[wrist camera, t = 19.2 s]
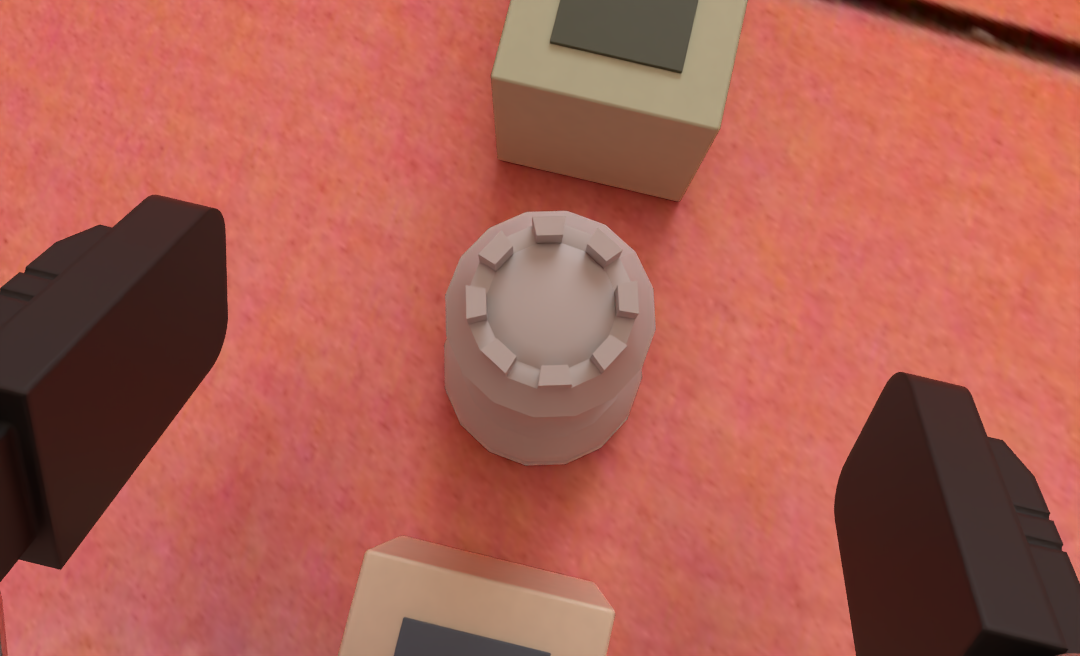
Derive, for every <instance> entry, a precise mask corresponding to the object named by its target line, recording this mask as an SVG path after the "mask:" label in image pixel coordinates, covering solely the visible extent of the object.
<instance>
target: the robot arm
mask: <svg viewBox="0 0 1080 656" xmlns="http://www.w3.org/2000/svg"><path fill="white" fill-rule="evenodd" d="M227 321H228V305H227V270H226V234H225V223H224V218H223V216H222V214H221V212H220V211H219V210H218V209H215V208H211V207H207V206H202V205H198V204H194V203H190V202H185V201H181V200H177V199H173V198H168V197H164V196H160V195H151V196H149V197H147V198H146V199H144V200H143V201H142V202H141V203H140V204H139V205H138V206H136V207H135V208H134V209H133V210H132V211H131V212H130V213H129V214H127V215H126V216H125V217H124V218H123V219H122V220H121V221H119V222H118V223H117V224H116V225H115V226H114V227H113V228H111V227H107V226H103V225H97V226H95V227H93V228H90V229H88V230H85V231H83V232H80V233H78V234H75V235H73V236H70V237H68V238H65V239H63V240H60V241H58V242H56V243H54V244H53V245H52V246H51V247H50V248H48V249H47V250H46V251H45V252H44V253H42V254H41V255H40V256H39V257H38V258H36V259H35V260H34V261H33V262H31V263H30V264H29V265H28V266H27V267H26V270H25V272H24V273H20V272H19V273H18V274H17V275H16V276H14V277H13V278H12V279H11V280H10V281H8V282H7V283H6V284H5V285H4V286H2V287H1V288H0V582H1V581H2V579H3V578H4V577H5V576H6V574H7V573H8V572H9V571H10V569H11V568H12V567H13V566H14V564H15V563H16V562H17V561H18V559H19V560H23V561H28V562H32V563H36V564H40V565H44V566H48V567H52V568H56V569H60V570H61V569H62V567H63V566H64V565H65V563H66V562H67V561H68V559H69V558H70V557H71V555H72V554H73V553H74V551H75V550H76V549H77V547H78V546H79V545H80V543H81V542H82V541H83V539H84V538H85V537H86V535H87V534H88V533H89V531H90V530H91V529H92V527H93V526H94V525H95V523H96V522H97V521H98V519H99V518H100V517H101V515H102V514H103V513H104V511H105V510H106V509H107V507H108V506H109V505H110V503H111V502H112V501H113V499H114V498H115V497H116V495H117V494H118V493H119V491H120V490H121V489H122V487H123V486H124V485H125V483H126V482H127V481H128V479H129V478H130V477H131V475H132V474H133V473H134V471H135V470H136V468H137V467H138V466H139V464H140V463H141V462H142V460H143V459H144V458H145V456H146V455H147V454H148V452H149V451H150V450H151V448H152V447H153V446H154V444H155V443H156V442H157V440H158V439H159V438H160V436H161V435H162V434H163V432H164V431H165V430H166V428H167V427H168V426H169V424H170V423H171V422H172V420H173V419H174V418H175V416H176V415H177V414H178V412H179V411H180V410H181V408H182V407H183V406H184V404H185V403H186V402H187V400H188V399H189V398H190V396H191V395H192V394H193V392H194V391H195V390H196V388H197V387H198V386H199V384H200V383H201V382H202V380H203V379H204V378H205V376H206V375H207V374H208V372H209V371H210V369H211V368H212V367H213V365H214V364H215V362H216V360H217V358H218V356H219V353H220V351H221V348H222V345H223V342H224V339H225V334H226V329H227ZM834 515H835V523H836V529H837V536H838V542H839V549H840V555H841V561H842V568H843V574H844V581H845V587H846V593H847V600H848V606H849V612H850V619H851V625H852V632H853V638H854V644H855V651H856V656H1080V583H1079V581H1078V578H1077V576H1076V573H1075V571H1074V569H1073V566H1072V564H1071V562H1070V559H1069V557H1068V555H1067V552H1063V551H1062V545H1063V543H1062V540H1061V538H1060V536H1059V533H1058V531H1057V529H1056V526H1055V524H1054V522H1053V521H1051V520H1049V515H1050V512H1049V510H1048V507H1047V505H1046V503H1045V500H1044V498H1043V496H1042V493H1041V491H1040V489H1039V486H1038V484H1037V481H1036V479H1035V477H1034V475H1033V474H1032V473H1031V472H1030V471H1029V470H1028V469H1027V467H1026V466H1025V465H1024V464H1023V463H1022V462H1021V461H1020V459H1019V458H1018V457H1017V456H1016V455H1015V454H1014V453H1013V451H1012V450H1011V449H1010V448H1009V447H1008V446H1007V445H1006V443H1005V442H1004V441H1003V440H999V439H995V438H991V437H987V434H986V432H985V429H984V427H983V424H982V421H981V419H980V416H979V413H978V411H977V408H976V406H975V403H974V400H973V398H972V395H971V393H970V392H969V390H968V389H967V388H965V387H963V386H959V385H955V384H950V383H946V382H942V381H938V380H933V379H929V378H925V377H921V376H916V375H912V374H908V373H904V372H898V373H896V374H894V375H893V376H892V377H891V378H890V379H889V381H888V382H887V384H886V385H885V387H884V389H883V391H882V393H881V395H880V396H879V398H878V400H877V402H876V404H875V406H874V408H873V410H872V412H871V414H870V416H869V418H868V420H867V422H866V423H865V425H864V427H863V429H862V431H861V433H860V435H859V437H858V439H857V441H856V443H855V445H854V447H853V448H852V450H851V452H850V454H849V456H848V458H847V460H846V462H845V464H844V466H843V468H842V471H841V474H840V477H839V480H838V484H837V489H836V494H835V504H834ZM0 656H8V652H7V642H6V632H5V622H4V612H3V602H2V596H1V592H0Z"/></svg>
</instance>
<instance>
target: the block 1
mask: <svg viewBox="0 0 1080 656" xmlns="http://www.w3.org/2000/svg"><path fill="white" fill-rule="evenodd" d="M614 618H615V610H614V609H613V608H612V606H611V605H610V603H609V602H608V601H607V599H606V598H605V596H604V595H603V594H602V592H601V591H600V589H599V588H598V587H597V585H596V584H595V583H594V582H591V581H587V580H583V579H579V578H575V577H571V576H567V575H563V574H559V573H555V572H550V571H546V570H542V569H538V568H534V567H530V566H526V565H522V564H518V563H514V562H510V561H505V560H501V559H497V558H493V557H489V556H485V555H481V554H477V553H473V552H469V551H465V550H460V549H456V548H452V547H448V546H444V545H440V544H436V543H432V542H428V541H424V540H420V539H415V538H411V537H407V536H399V537H397V538H394V539H392V540H390V541H387V542H385V543H382V544H380V545H378V546H375V547H373V548H371V549H368V550H367V551H366V552H365V554H364V558H363V562H362V565H361V569H360V573H359V577H358V581H357V584H356V588H355V592H354V596H353V599H352V603H351V607H350V611H349V615H348V618H347V622H346V626H345V630H344V633H343V637H342V641H341V645H340V649H339V652H338V656H606V655H607V651H608V646H609V642H610V637H611V632H612V628H613V623H614Z"/></svg>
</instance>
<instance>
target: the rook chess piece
mask: <svg viewBox="0 0 1080 656" xmlns="http://www.w3.org/2000/svg"><path fill="white" fill-rule="evenodd" d="M445 301H446V337H447V339H446V341H445V344H444V373H445V390H446V392H447V395H448V397H449V399H450V402H451V404H452V406H453V408H454V411H455V413H456V415H457V417H458V420H459V422H460V424H461V425H462V426H463V427H464V428H465V429H466V430H467V431H468V432H469V433H470V434H471V435H472V436H473V437H474V438H475V439H476V440H477V441H478V442H479V443H481V444H482V445H483V446H484V447H485V448H486V449H487V450H488V451H489V452H491V453H494V454H497V455H499V456H502V457H505V458H507V459H510V460H513V461H515V462H518V463H520V464H523V465H526V466H528V465H558V464H567V463H569V462H571V461H573V460H576V459H578V458H580V457H582V456H584V455H586V454H589V453H591V452H593V451H595V450H597V449H599V448H601V447H602V446H603V445H604V444H605V443H606V442H607V441H608V440H609V439H610V437H611V436H612V435H613V434H614V433H615V432H616V431H617V430H618V429H619V428H620V427H621V425H622V424H623V423H624V422H625V421H626V420H627V419H628V416H629V413H630V410H631V408H632V405H633V402H634V399H635V396H636V394H637V391H638V388H639V385H640V382H641V380H642V366H643V363H644V361H645V358H646V355H647V352H648V349H649V347H650V344H651V341H652V338H653V335H654V333H655V330H656V326H655V308H654V291H653V287H652V285H651V283H650V281H649V278H648V276H647V274H646V272H645V270H644V268H643V266H642V264H641V262H640V260H639V258H638V256H637V254H636V252H635V251H634V250H633V249H632V248H631V247H630V246H628V245H627V244H626V243H625V242H624V241H623V240H622V239H621V238H620V237H618V236H617V235H616V234H615V233H614V232H613V231H612V230H611V229H610V228H608V227H607V226H606V225H605V224H602V223H599V222H596V221H594V220H591V219H588V218H586V217H583V216H580V215H577V214H575V213H572V212H569V211H541V212H525V213H523V214H520V215H518V216H516V217H513V218H511V219H509V220H506V221H504V222H502V223H500V224H497V225H495V226H493V227H490V228H489V229H488V230H487V231H486V232H485V233H484V234H483V235H482V236H481V237H480V238H479V239H478V240H477V241H476V242H475V243H474V244H473V245H472V246H471V247H470V248H469V249H468V250H467V251H466V252H465V253H464V254H463V255H462V256H461V257H460V260H459V262H458V265H457V267H456V270H455V272H454V275H453V277H452V280H451V282H450V285H449V287H448V290H447V292H446V295H445Z"/></svg>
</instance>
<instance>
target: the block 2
mask: <svg viewBox="0 0 1080 656" xmlns="http://www.w3.org/2000/svg"><path fill="white" fill-rule="evenodd" d="M747 2H748V0H511V1H510V5H509V8H508V12H507V16H506V20H505V24H504V27H503V31H502V35H501V39H500V42H499V46H498V50H497V54H496V58H495V61H494V65H493V69H492V73H491V86H492V98H493V110H494V122H495V134H496V147H497V158H498V159H499V160H503V161H507V162H511V163H515V164H520V165H524V166H528V167H532V168H537V169H541V170H545V171H550V172H554V173H558V174H562V175H567V176H571V177H575V178H579V179H584V180H588V181H592V182H597V183H601V184H605V185H609V186H614V187H618V188H622V189H626V190H631V191H635V192H639V193H644V194H648V195H652V196H656V197H661V198H665V199H669V200H673V201H680V200H681V199H682V197H683V195H684V193H685V192H686V190H687V188H688V186H689V184H690V183H691V181H692V179H693V177H694V175H695V173H696V172H697V170H698V168H699V166H700V164H701V163H702V161H703V159H704V157H705V155H706V153H707V152H708V150H709V148H710V146H711V144H712V143H713V141H714V139H715V137H716V135H717V134H718V132H719V130H720V127H721V122H722V118H723V113H724V108H725V104H726V99H727V94H728V90H729V85H730V80H731V76H732V71H733V67H734V62H735V57H736V53H737V48H738V43H739V39H740V34H741V30H742V25H743V20H744V16H745V11H746V6H747Z"/></svg>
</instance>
